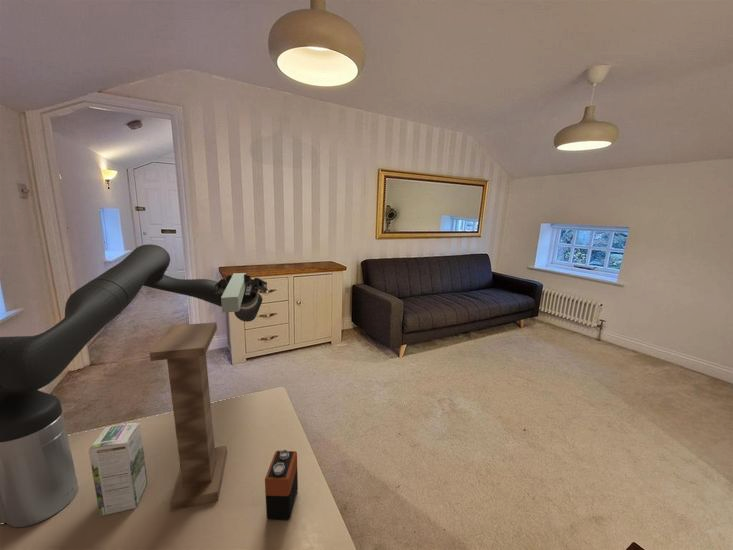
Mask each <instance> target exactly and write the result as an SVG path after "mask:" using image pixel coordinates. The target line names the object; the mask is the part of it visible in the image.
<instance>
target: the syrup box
mask: <svg viewBox="0 0 733 550" xmlns="http://www.w3.org/2000/svg"><path fill="white" fill-rule="evenodd" d="M144 451H145V450H144V444H143V436H142V428H141V423H140V422H130V423H122V424H121V423H120V424H114V425H111V426H106V427H105V428H104V429H103V431H102V432H101V433H100V434H99V436H98V437H97V439H96V440H95V441H94V443H93V444H92V445H91V446H90V448H89V449H88V454H89V462H90V465H91V473H92V478H93V483H94V485H93V486H94V489H95V490H94V491H95V495H96V501H97V507H98V512H99V513H98V514H99V517H103V516H107V515H113V514H116V513H121V512H125V511H129V510H132V509H136V508H137V507H138V505H139V502H140V500H141V498H142V495H143V493H144V492H145V489H146V487H147V484H148V475H147V468H146V461H145V452H144Z"/></svg>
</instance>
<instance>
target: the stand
mask: <svg viewBox="0 0 733 550" xmlns="http://www.w3.org/2000/svg"><path fill="white" fill-rule="evenodd" d="M217 330H218V327H217V322H203V323H202V322H201V323H190V324H189V323H188V324H187V323H186V324H176V325H175V324H174V325H171V326H170V327H169V329H168V330H167V332H166V333H165V334H164V335H163V336H162V337H161V339H160V340H159V341H158V342H157V343H156V344H155V346H153V348H152V349H151V351H149V358H150V360H149V361H150V362H154V361H155V362H156V361H165V360H166V362H167V364H166V365H167V369H168V370H167V371H168V372H167V373H168V378H169V385H170V387H169V388H170V394H171V395H170V396H171V403H172V410H173V419H174V426H175V435H176V443H177V444H176V445H177V452H178V459H179V467H180V468H179V469H180V472H179V475H178V477H177V481H176V484H175V486H174V488H173V489H174V490H173V493H172V496H171V498H170V502H169V506H170V507H169V508H170V511H171V512H173V511H174V512H175V511H177V510H182V509H186V508H191V507H195V506H199V505H203V504H208V503H212V502H217V501H219V499H220V493H221V487H222V482H223V476H224V472H225V467H226V461H227V456H228V446H227V445H220V446H216V447H215V439H214V437H215V435H214V429H213V428H214V427H213V416H212V407H211V404H212V403H211V395H210V394H211V393H210V384H209V383H210V382H209V374H208V363H207V351H208V350H209V347H210V345H211V344H212V341H213V338H214V337H215V334H216V332H217Z"/></svg>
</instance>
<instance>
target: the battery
mask: <svg viewBox="0 0 733 550" xmlns="http://www.w3.org/2000/svg"><path fill="white" fill-rule="evenodd" d="M298 479H299V477H298V452H297V450H296V451H295V450H288V449H282V450H276V451H275V452H274V454H273V457H272V459H271V462H270V464H269V467H268V470H267V472H266V474H265V477H264V489H265V490H264V491H265V507H266V508H265V509H266V511H265V512H266V519H267V520H269V521H270V520H271V521H289V520H290V519H291V517H292V513H293V508H294V505H295V502H296V498H297V493H298V489H299V482H298Z"/></svg>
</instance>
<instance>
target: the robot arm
mask: <svg viewBox="0 0 733 550" xmlns="http://www.w3.org/2000/svg"><path fill="white" fill-rule="evenodd" d="M170 263H171V255H170V253H169V252H168V251H167V250H166V249H165V248H164V247H162V246H161V245H157V244H152V243H151V244H149V243H148V244H143V245H139V246H137V247H136V248H135V249H133V250H132V252H130V253H129V254H128V255H127V256H126V257H125V258H124V259H122V261H120V262H118V263H117V264H116V265H114V266H112V267H110V268H109V269H107V270H105V271H104V272H102V274H100V275H98V276H96V277H95V278H94V279H92V280H89V281H88V282H87V283H85V284H84V285H83V286H81V287H79V288H77V289H76V290H75V291H74V292H73V293H71V294H70V295H69V297H68V298H67V299H66V303H65V308H64V317H63V318H62V320H60V321H59V322H57V323H56V324H54V326H52V327H50V328H49V329H47V330H45V331H44V332H41V333H39V334H36V335H27V336H25V335H23V336H22V335H21V336H19V335H18V336H0V523H8V524H7V525H9V526H10V525H11V526H10V527H12V528H24V527H29V526H33V525H35V524H38V523H41V522H43V521H46V520H47V519H48V518H50V517H52V516H54V515H56V514H57V513H58V512H60V511H61V510H63V509H64V508H65V507H66V506H68V505H69V504H70V503H71V502H72V500H74V498H75V497H76V495H77V494H78V490H79V485H78V478H77V472H76V469H75V464H74V459H73V455H72V450H71V449H72V448H71V444H70V441H69V440H70V439H69V435H68V430H67V426H66V422H65V418H64V417H65V416H64V412H63V409H62V404H61V400H60V399H59V397H57V396H56V395H53V394H51V393H48V392H45V391H41V390H40V389H42V388H45V387H46V386H48V385H49V384H51V383H52V382H53V381H55V379H57V378H58V377H59V376H60V375H61V374H62V372H64V371H65V370H66V369H67V367H68V366H69V365H70V364H71V362H72V361H73V360H74V359H75V358H76V357H77V356H78V355H79V353H80V352H81V351H82V350H83V348H85V346H86V345H87V344H89V342H90V341H91V340H92V339H93V338H95V336H96V335H97V334H99V333H100V332H101V330H102V329H104V328H105V326H107V324H109V323H110V322H111V321H112V320H114V319H116V317H117V316H118V315H120V313H122V312H124V310H125V309H126V308H127V307H128V306H129V305H130V304H131V303H132V302H133V300H134V298H136V296H137V295H138V294H139V292H140V291H141V289H142V288H143V286H144V287H146V288H147V287H148V288H151V289H156V290H160V291H165V292H168V293H169V292H170V293H174V294H179V295H183V296H187V297H191V298H195V299H197V300H198V299H199V300H202V301H205V302H206V303H210V304H211V305H215V306H218V307H221V308H222V303H221V297H222V295H223V293H224V291H225V289H226V287H227V285H228V283H229V281H230V279H231V278H232V275H233V274H228V276H225V279H224V278H222V279H220V280H219V281H216V280H213V279H207V278H195V279H194V278H192V279H183V278H176V277H172V276H169V275H166V274H165V273H166V271H167V270H168V268H169V266H170ZM244 283H245V285H246V288H245V291H244V295H243V299H242V302H241V306H240V309H239V311H238V312H233V313H234V315H235V317H236V318H237V319H239V320H240V321H242V322H246V323H249V322H252V321H254V320H255V319H256V318H257V315H258V313H259V311H260V307H261V306H262V303H263V296H262V295H261V294H260V293H259V291H260V292H265V293H266V292H268V282H267V281H265V280H263V279H261V278H259V277H254V278H252V277H251V275H248V273H246V274H244Z"/></svg>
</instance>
